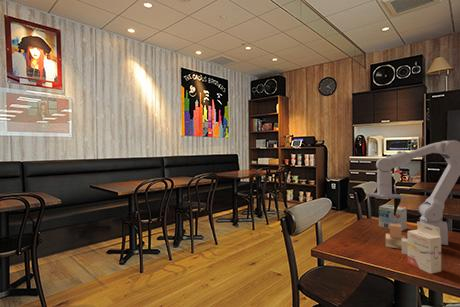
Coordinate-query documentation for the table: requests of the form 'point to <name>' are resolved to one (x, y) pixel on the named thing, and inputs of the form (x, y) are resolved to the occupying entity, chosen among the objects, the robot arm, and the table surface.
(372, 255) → the table surface
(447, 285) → the table surface
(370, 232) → the table surface
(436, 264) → the ink cartridge box
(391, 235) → the terracotta block
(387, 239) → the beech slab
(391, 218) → the light bulb box
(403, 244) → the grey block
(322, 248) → the table surface
